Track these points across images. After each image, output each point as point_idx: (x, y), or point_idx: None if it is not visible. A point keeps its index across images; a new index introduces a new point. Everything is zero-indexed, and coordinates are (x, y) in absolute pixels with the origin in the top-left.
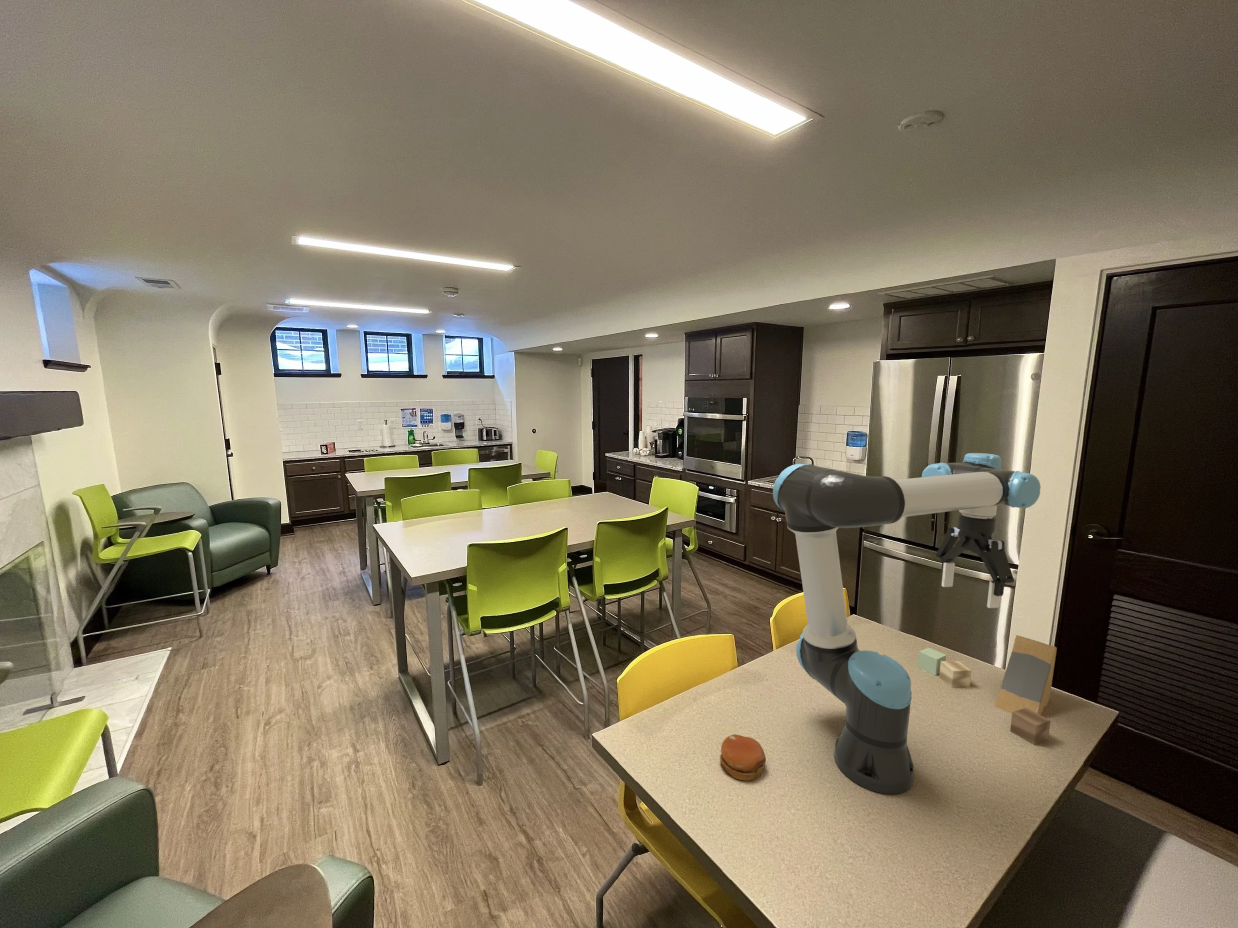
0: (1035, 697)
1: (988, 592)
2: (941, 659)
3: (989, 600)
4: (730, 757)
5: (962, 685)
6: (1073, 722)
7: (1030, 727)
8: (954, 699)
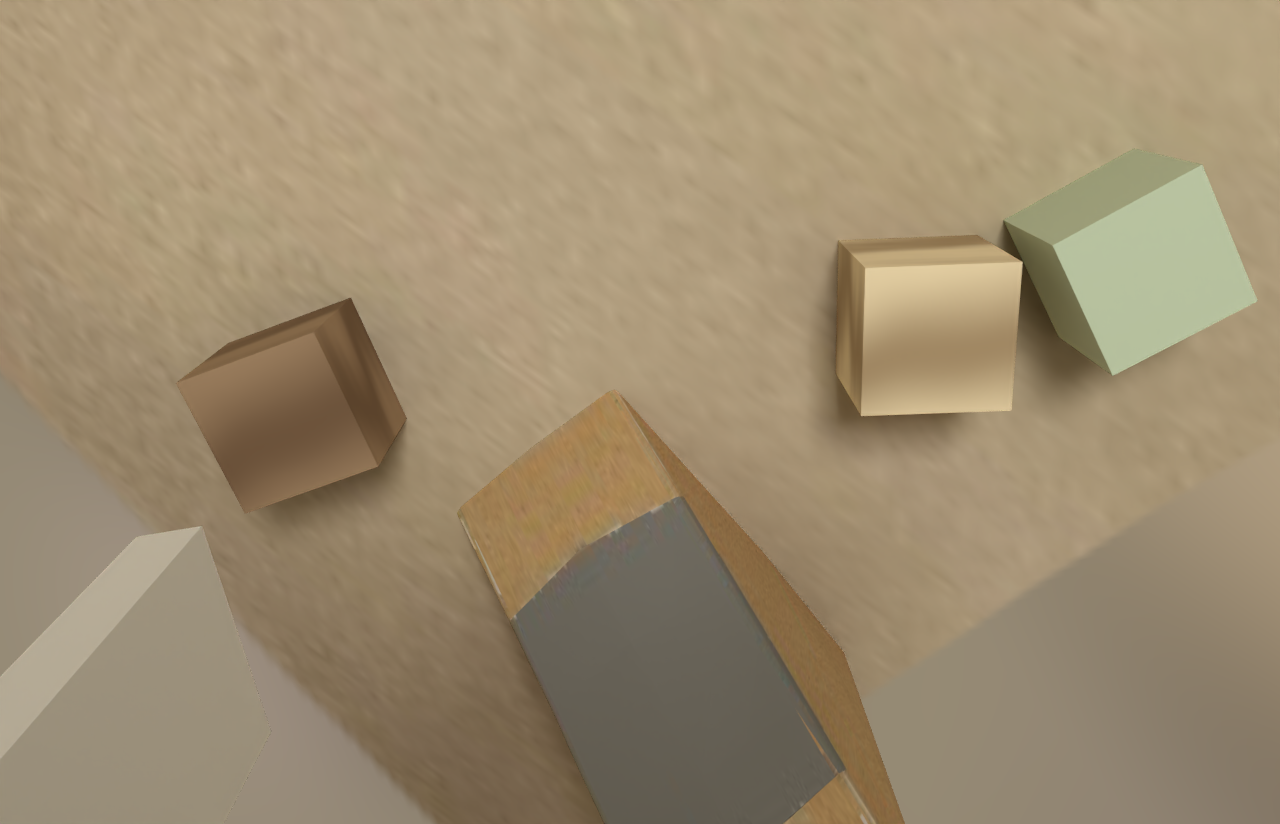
0: (538, 625)
1: (31, 725)
2: (1073, 305)
3: (87, 618)
4: None
5: (838, 323)
6: (468, 716)
7: (217, 361)
8: (687, 158)
